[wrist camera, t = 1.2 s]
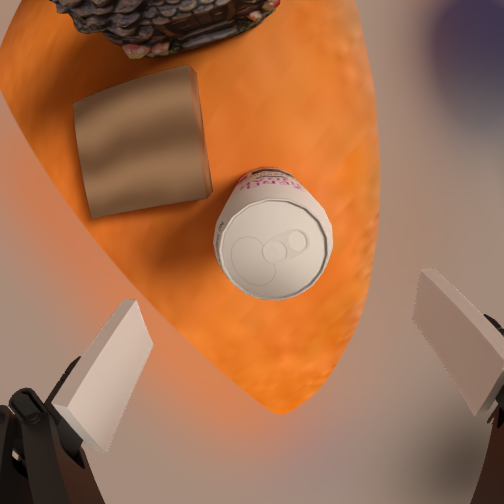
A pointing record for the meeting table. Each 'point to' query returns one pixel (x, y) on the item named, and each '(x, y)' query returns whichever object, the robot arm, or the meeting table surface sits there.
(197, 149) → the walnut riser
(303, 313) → the meeting table surface
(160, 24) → the decorative house
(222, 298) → the meeting table surface
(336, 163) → the meeting table surface
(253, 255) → the supplement can
